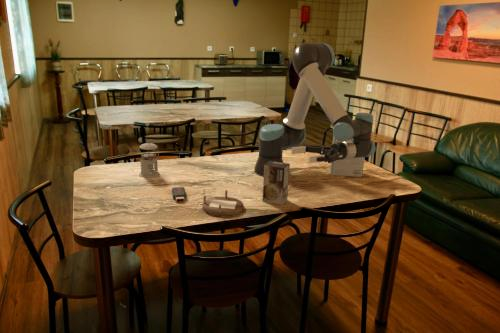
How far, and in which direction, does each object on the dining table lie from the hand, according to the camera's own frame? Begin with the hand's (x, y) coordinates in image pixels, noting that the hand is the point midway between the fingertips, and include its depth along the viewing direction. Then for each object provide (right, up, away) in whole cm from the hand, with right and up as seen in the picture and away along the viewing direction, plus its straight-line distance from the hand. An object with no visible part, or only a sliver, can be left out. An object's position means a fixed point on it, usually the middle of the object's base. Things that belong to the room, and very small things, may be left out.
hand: (300, 155), depth 166 cm
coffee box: (-10, -19, +3) cm, 22 cm away
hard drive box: (+28, -9, +39) cm, 49 cm away
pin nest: (-31, -21, -6) cm, 38 cm away
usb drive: (-50, -18, +3) cm, 53 cm away
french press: (-68, -8, +27) cm, 74 cm away
